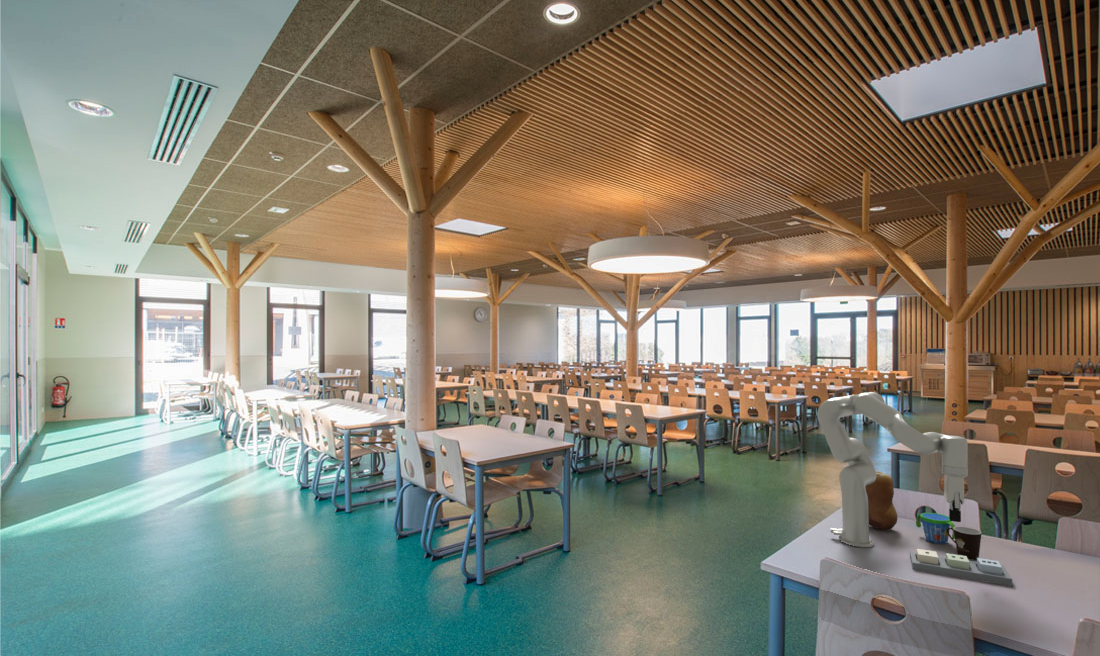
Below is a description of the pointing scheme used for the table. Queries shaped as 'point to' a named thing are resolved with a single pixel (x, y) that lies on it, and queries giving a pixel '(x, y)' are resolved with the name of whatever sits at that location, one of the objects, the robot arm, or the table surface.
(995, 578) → the board
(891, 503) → the butternut squash
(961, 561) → the two-dot tile
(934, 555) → the tile
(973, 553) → the coffee mug
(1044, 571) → the table surface
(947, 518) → the snack cup
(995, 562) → the tile
